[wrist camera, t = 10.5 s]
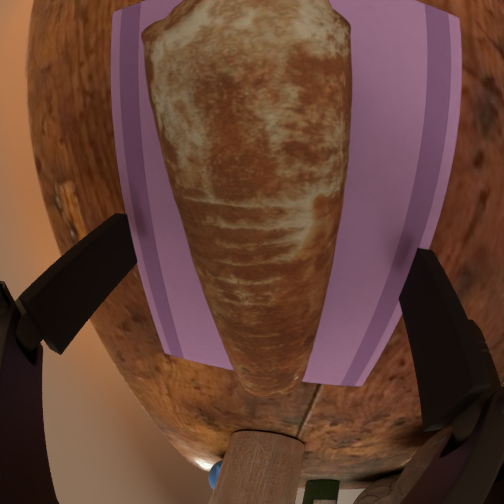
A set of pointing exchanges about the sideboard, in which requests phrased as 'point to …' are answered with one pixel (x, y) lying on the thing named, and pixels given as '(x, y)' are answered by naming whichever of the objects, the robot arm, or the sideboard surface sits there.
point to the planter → (259, 469)
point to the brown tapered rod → (256, 166)
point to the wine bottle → (321, 492)
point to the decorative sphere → (378, 491)
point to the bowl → (417, 466)
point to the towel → (355, 193)
